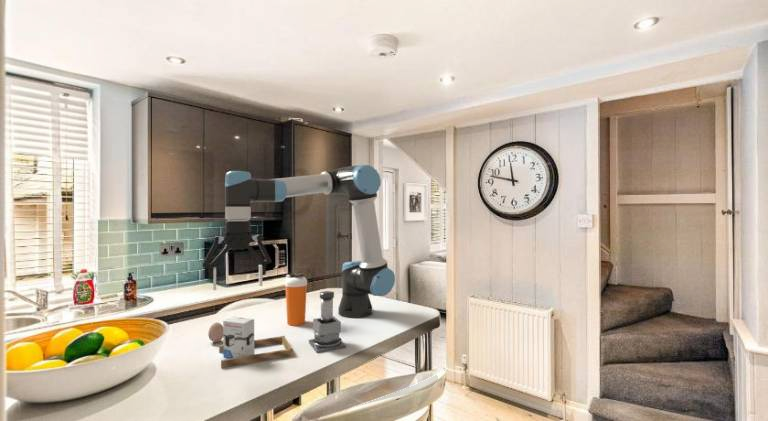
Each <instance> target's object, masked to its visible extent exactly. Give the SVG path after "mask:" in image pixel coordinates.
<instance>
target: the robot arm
mask: <svg viewBox="0 0 768 421" xmlns="http://www.w3.org/2000/svg"><path fill="white" fill-rule="evenodd" d="M224 180H225V182H224V194H225V196H224V197H225V198H224V202H225V203H224V204H225V206H224V210H225V211H224V213H225V214H224V218H225V220H226V221H225V222H224V224H225V225H224V228H225V230H224V232H225V234H224V236H218V235H215V236H214V237H213V238H214V239H213V244H212V246H211V248H210V249H209V251H208V253H207V255H206V256H205V258H204V260H203V262H202V267H203V268H207V269H208V273H209V274H208V277H209V279H210V280H212V282H213V283H212V284H213V287H212V290H213V291H217V267H216V265H217V264H218V263H220V261H221V260H222V259H223V258H224V256H225V255H226V254H227V253H228V252H229V251H230V250H232V251H237V250H240V251H244V250H245V249H247V250H248V252H249V253H250V254H252V255H253V257H255V259H256V260H257V261H258V262H259V263H260V264H258V286H259V287H263V276H265V275H266V274H267V267H266V266H267V265H268V264H271V263H272V262H273V261H272V258H271V256H270V254H269V253H268V251H267V249H266V247H265V245H264V244H263V241H262V236H261V235H260V234H257V235H252V234H251V231H252V229H251V228H252V227H251V221H250V220H251V218H252V217H251V216H252V214H251V213H252V212H251V211H252V210H251V203H278V202H279V203H282V202H284V201H285V199H286V198H292V197H301V196H307V195H314V194H315V195H317V194H321V193H323V195H345V196H346V195H347V197H348V202H350V203H351V204H352V205H353V211H354V212H353V213H354V217H355V225H356V229H357V230H356V231H357V238H358V242H359V250H360V255H361V260H353V261H346V262H344V263H343V264H342V267H341V268H342V269H341V276H342V277H341V281H342V282H341V284H342V286H341V290H342V291H341V293H342V296H341V300H340V303H339V305H338V311H337V313H338V315H339V316H341V317H346V318H363V317H364V318H365V317H368V316H370V315H373V305H372V302H371V299H370V295H372V296H374V297H384V296H387V295H389V293H391V291H392V290H393V288H394V286H395V282H396V275H395V272H394V271H393V270H392V269H391V268H389V267H388V261H387V259H385V258H384V257H383V251H382V246H381V245H382V244H381V238H380V232H379V224H378V219H377V213H376V212H377V211H376V204H375V200H376V199H377V198H378V191H379V190H380V187H381V184H382V183H381V182H382V180H381V176H380V173H379V171H378V170H377V169H376V168H375V167H373V166H372V165H370V164H357V165H352V166H350V165H349V166H344V167H343V166H342V167H340V168H336V169H335V168H334V169H332V170H327V171H321V172H320V174H319V173H318V174H310V175H309V174H308V175H301V176H298V175H297V176H289V177H281V178H280V177H278V178H269V179H268V178H265V179H264V178H252V176H251V172H249V171H243V170H230V171H227V172H226V173H225V177H224ZM223 241H224V243H225V247H223V248H222V250H221V251H220V252H219V254H218V255H217V256H216V257H215V258H214V259H213V260H212V261H211V259H212V257H213V255H214V253H215V251H216V250H217V248H218V246H219V244H221V243H222V242H223ZM252 241H254V242H255V243H257V246H258V248H259V249H260V251H261V253H262V255H263V256H264V258H265V259H263V258H262V257H261V255H259V253H258V252H256V250H254V248H253V247H252V246H251V242H252ZM210 261H211V263H210Z"/></svg>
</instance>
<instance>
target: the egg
mask: <svg viewBox="0 0 768 421" xmlns="http://www.w3.org/2000/svg"><path fill="white" fill-rule="evenodd" d="M207 334H208V339H209V340H210V341H211V342H213V343H218V342H220V341H222V339H223V324H221V323H220V322H219V321H217V322H213V323H212V324H211V326H210V327H209V329H208V333H207Z"/></svg>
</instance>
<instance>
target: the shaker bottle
mask: <svg viewBox="0 0 768 421" xmlns="http://www.w3.org/2000/svg"><path fill="white" fill-rule="evenodd" d="M307 286H308V280H307V278H306V277H305V273H295V272H292V273H289V274H286V276H285V280H284V287H285V303H286V321H287V322H286V323H287V325H289V326H291V327H292V326H293V327H295V326H301V325H305V323H306V313H307V312H306V309H307V308H306V307H307V306H306V305H307V290H308V289H307Z"/></svg>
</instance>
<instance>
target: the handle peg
mask: <svg viewBox="0 0 768 421" xmlns="http://www.w3.org/2000/svg"><path fill="white" fill-rule="evenodd" d="M319 298H320V318H321V324H324V323H331V322H333V316H334V313H333V312H334V310H333V309H334V306H333V304H334V303H333V302H334V298H335V292H334V291H330V290H329V291H327V290H325V291H324V290H323V291H321V292H319Z"/></svg>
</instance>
